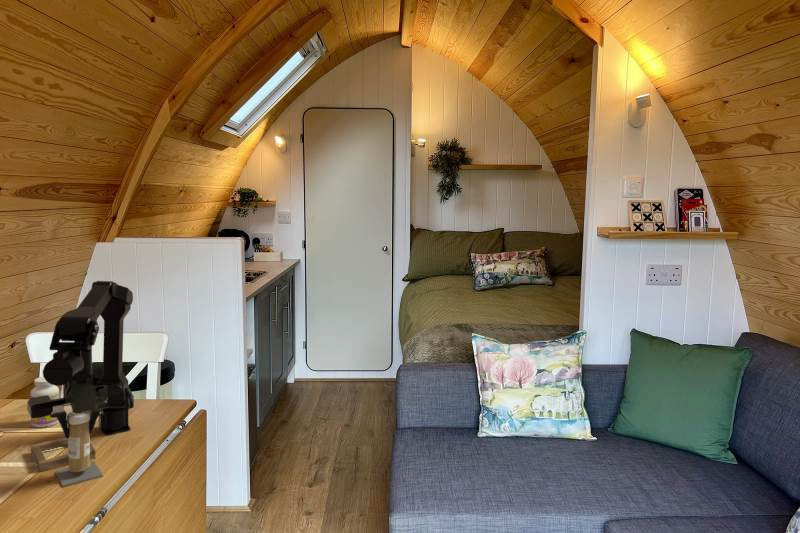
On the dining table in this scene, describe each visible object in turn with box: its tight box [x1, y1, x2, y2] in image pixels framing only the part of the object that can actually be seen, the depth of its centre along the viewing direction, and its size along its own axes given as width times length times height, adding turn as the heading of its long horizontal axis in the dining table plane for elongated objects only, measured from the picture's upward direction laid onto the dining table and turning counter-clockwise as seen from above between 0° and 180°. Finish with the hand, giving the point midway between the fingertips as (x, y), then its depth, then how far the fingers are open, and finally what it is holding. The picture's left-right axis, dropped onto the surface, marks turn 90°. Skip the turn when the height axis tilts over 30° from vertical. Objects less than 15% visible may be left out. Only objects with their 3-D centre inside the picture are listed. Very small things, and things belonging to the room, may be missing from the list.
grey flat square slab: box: [55, 460, 104, 488], centre depth 126 cm, size 8×8×1 cm
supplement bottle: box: [29, 376, 60, 428], centre depth 150 cm, size 7×7×13 cm
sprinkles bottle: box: [66, 410, 91, 472], centre depth 125 cm, size 5×5×14 cm
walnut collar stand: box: [30, 437, 96, 473], centre depth 134 cm, size 12×12×2 cm
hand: (78, 435), depth 125 cm, fingers closed on sprinkles bottle, 4 cm apart
